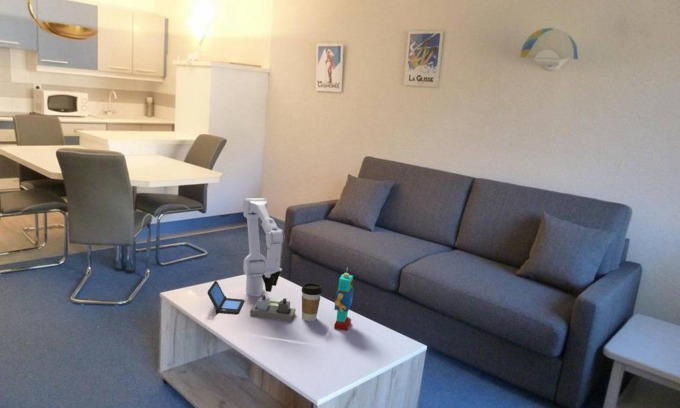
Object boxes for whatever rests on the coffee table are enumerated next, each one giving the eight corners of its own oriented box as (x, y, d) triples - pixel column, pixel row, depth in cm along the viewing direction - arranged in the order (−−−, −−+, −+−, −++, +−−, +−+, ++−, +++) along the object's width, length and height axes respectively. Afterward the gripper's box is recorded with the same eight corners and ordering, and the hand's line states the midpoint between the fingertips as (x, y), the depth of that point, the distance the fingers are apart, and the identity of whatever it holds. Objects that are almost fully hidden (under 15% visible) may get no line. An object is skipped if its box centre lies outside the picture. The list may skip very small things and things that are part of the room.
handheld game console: (238, 316, 214) (239, 295, 212) (205, 313, 214) (206, 292, 212) (244, 302, 229) (246, 282, 228) (214, 299, 229) (215, 279, 227)
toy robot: (346, 332, 208) (352, 272, 204) (331, 329, 209) (337, 270, 205) (351, 321, 220) (357, 264, 215) (337, 319, 221) (343, 262, 216)
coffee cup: (310, 325, 211) (313, 290, 209) (294, 318, 216) (297, 284, 214) (323, 320, 218) (326, 286, 215) (307, 313, 223) (310, 280, 220)
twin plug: (279, 313, 219) (281, 296, 217) (289, 315, 218) (290, 297, 217) (277, 317, 215) (278, 299, 213) (286, 318, 214) (288, 301, 213)
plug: (259, 310, 220) (260, 293, 218) (268, 312, 219) (269, 294, 218) (256, 314, 216) (257, 296, 214) (265, 315, 215) (267, 298, 214)
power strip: (255, 309, 222) (256, 302, 222) (294, 315, 220) (295, 308, 219) (250, 316, 214) (250, 309, 214) (290, 322, 212) (290, 315, 212)
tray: (269, 303, 230) (269, 300, 230) (287, 305, 229) (287, 302, 229) (264, 309, 223) (264, 306, 222) (282, 312, 222) (283, 309, 221)
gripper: (277, 264, 212) (275, 295, 215) (287, 254, 226) (284, 284, 229) (261, 261, 213) (258, 293, 216) (271, 252, 227) (269, 281, 230)
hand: (270, 288), depth 222 cm, fingers open, 7 cm apart
